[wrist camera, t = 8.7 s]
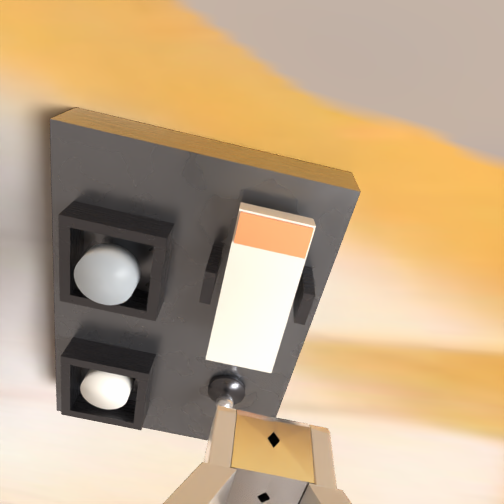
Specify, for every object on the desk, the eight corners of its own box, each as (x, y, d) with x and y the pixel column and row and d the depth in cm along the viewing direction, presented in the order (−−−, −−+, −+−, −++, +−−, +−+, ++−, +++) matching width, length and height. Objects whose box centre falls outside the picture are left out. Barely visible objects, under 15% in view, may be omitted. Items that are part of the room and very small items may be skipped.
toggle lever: (233, 399, 29) (220, 481, 25) (216, 395, 29) (200, 477, 25) (236, 392, 28) (222, 477, 25) (218, 389, 28) (202, 473, 24)
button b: (138, 297, 24) (131, 310, 23) (82, 285, 24) (73, 298, 23) (143, 250, 22) (136, 262, 21) (83, 237, 22) (74, 248, 21)
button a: (131, 399, 30) (126, 413, 29) (87, 390, 29) (79, 404, 28) (135, 367, 28) (129, 381, 27) (88, 358, 28) (80, 371, 27)
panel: (264, 418, 35) (261, 486, 30) (74, 380, 34) (37, 443, 29) (351, 172, 24) (370, 214, 19) (76, 107, 23) (18, 132, 18)
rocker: (271, 349, 26) (271, 375, 23) (210, 336, 25) (205, 361, 23) (311, 212, 22) (316, 227, 20) (241, 196, 22) (238, 210, 20)
